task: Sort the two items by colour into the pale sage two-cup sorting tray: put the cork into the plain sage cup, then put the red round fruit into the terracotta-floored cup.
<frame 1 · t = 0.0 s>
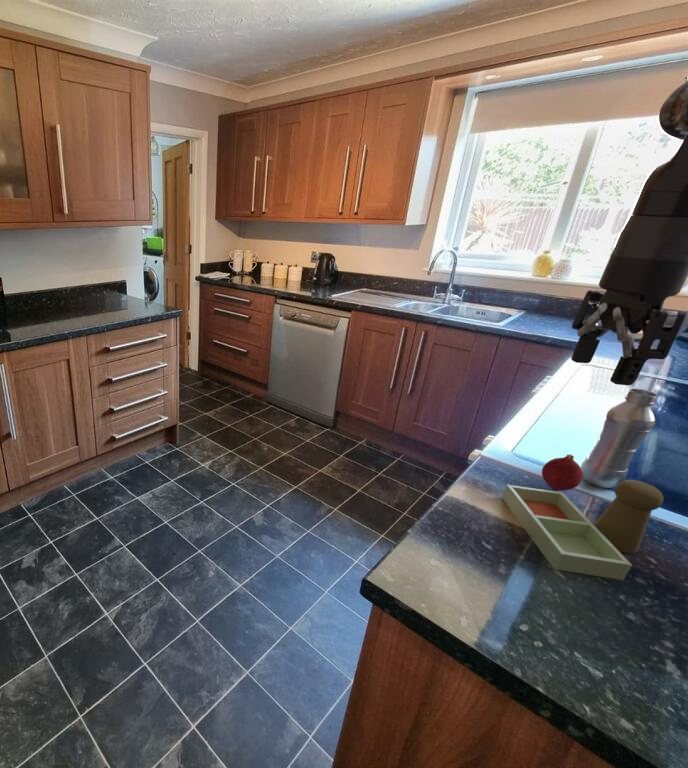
hand: (598, 372, 60), 29 cm above the countertop, tool pointing down, fingers open, 8 cm apart
sorter: (554, 534, 72), on the countertop
cork: (612, 540, 71), on the countertop
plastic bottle: (597, 483, 85), on the countertop
red round fruit: (554, 490, 83), on the countertop
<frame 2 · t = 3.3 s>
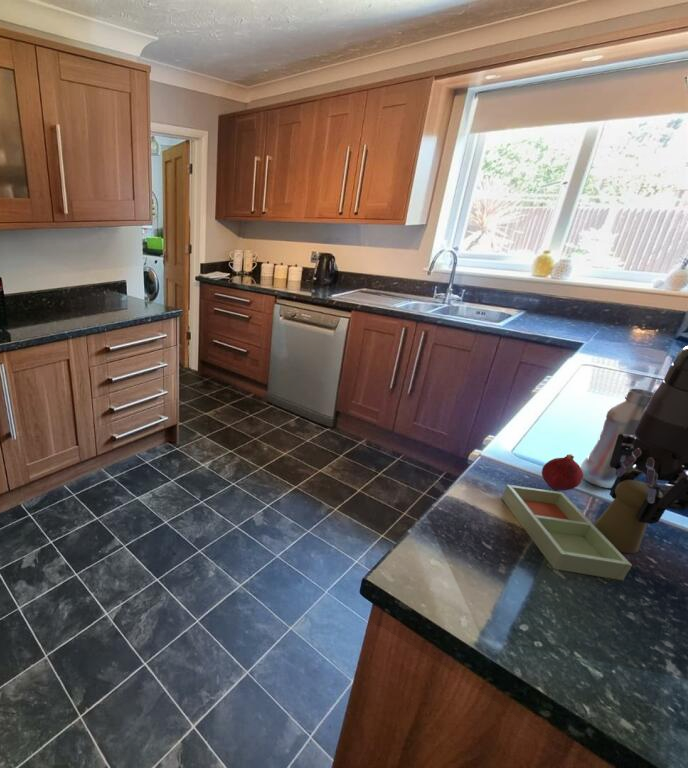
hand: (630, 508, 68), 6 cm above the countertop, tool pointing down, fingers closed on cork, 5 cm apart
cork: (612, 540, 71), on the countertop, touching gripper
everything else where it was.
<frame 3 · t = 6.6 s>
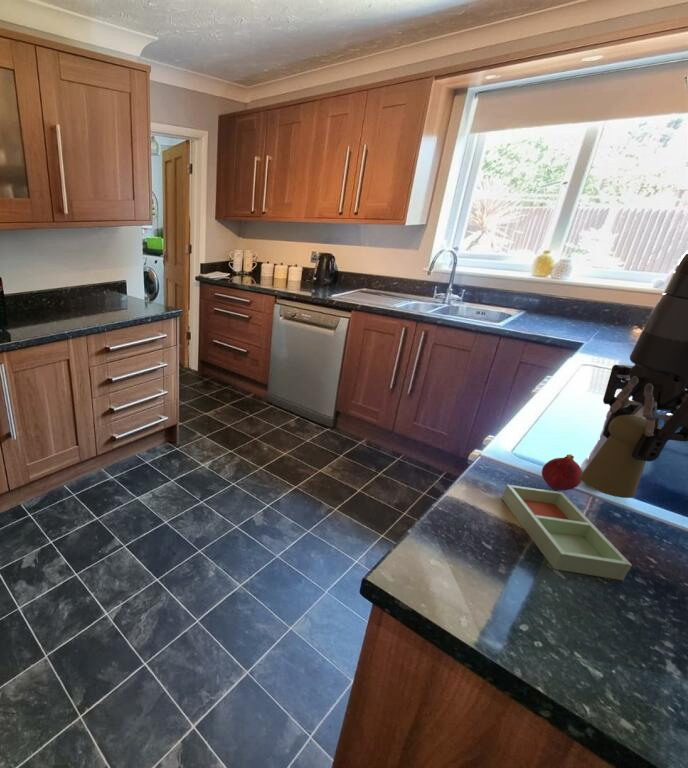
hand: (626, 447, 60), 20 cm above the countertop, tool pointing down, fingers closed on cork, 5 cm apart
cork: (606, 485, 63), point 13 cm above the countertop, touching gripper
everything else where it was.
when the fingers open (7 cm above the countertop, at t = 10.1 s): cork stays where it is, resting on sorter.
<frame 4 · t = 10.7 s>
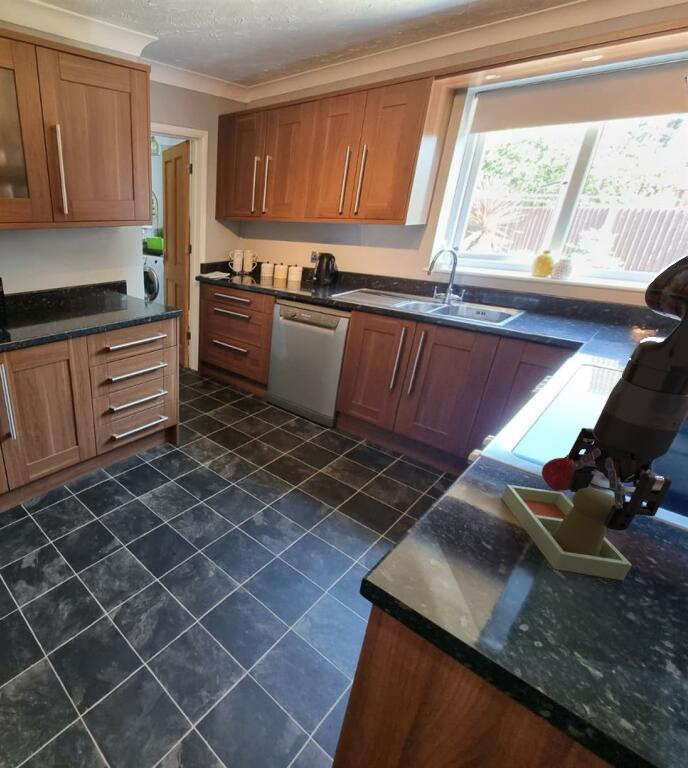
hand: (593, 508, 64), 9 cm above the countertop, tool pointing down, fingers open, 8 cm apart
cork: (571, 550, 68), resting on sorter
everything else where it was.
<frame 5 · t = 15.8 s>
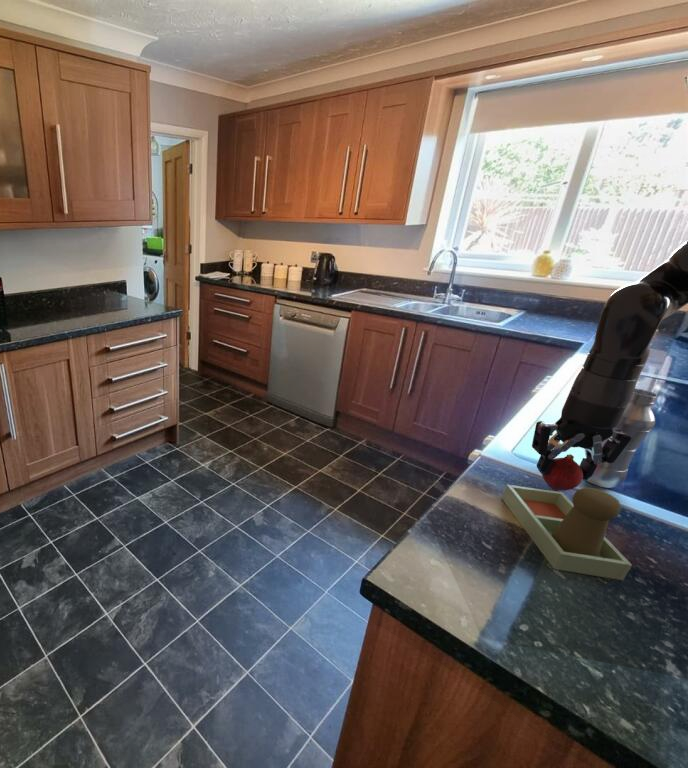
hand: (561, 474, 81), 4 cm above the countertop, tool pointing down, fingers closed on red round fruit, 6 cm apart
red round fruit: (554, 490, 83), on the countertop, touching gripper
everything else where it was.
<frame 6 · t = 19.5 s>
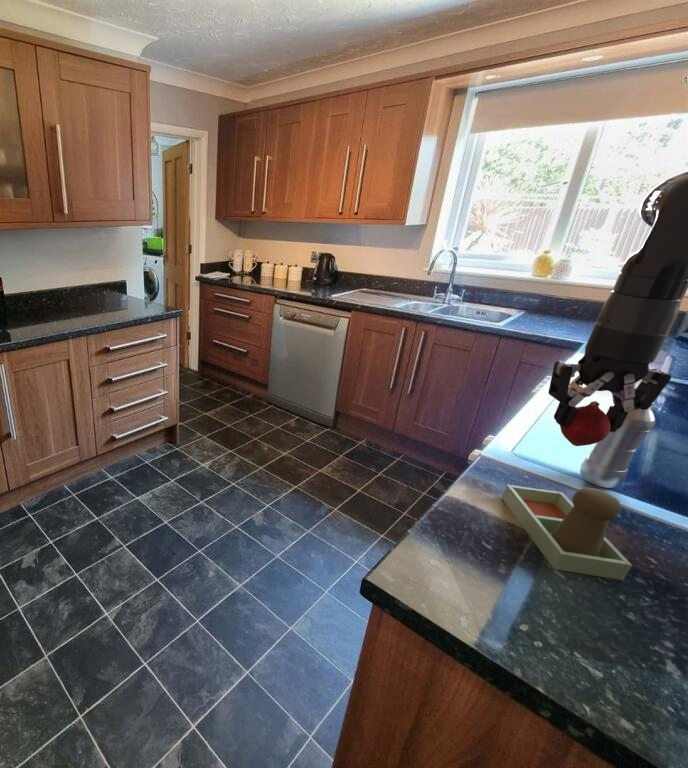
hand: (584, 426, 68), 18 cm above the countertop, tool pointing down, fingers closed on red round fruit, 6 cm apart
red round fruit: (574, 446, 70), point 15 cm above the countertop, touching gripper
everything else where it was.
when the fingers open (4 cm above the countertop, at t = 23.3 s): red round fruit stays where it is, resting on sorter.
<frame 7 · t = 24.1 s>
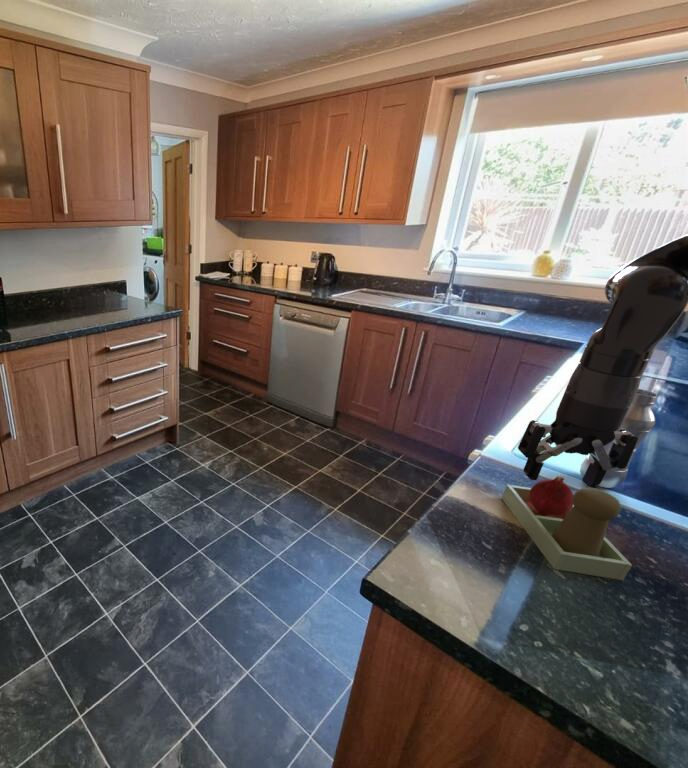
hand: (559, 481, 72), 8 cm above the countertop, tool pointing down, fingers open, 8 cm apart
red round fruit: (542, 515, 75), point 1 cm above the countertop, touching sorter
everything else where it was.
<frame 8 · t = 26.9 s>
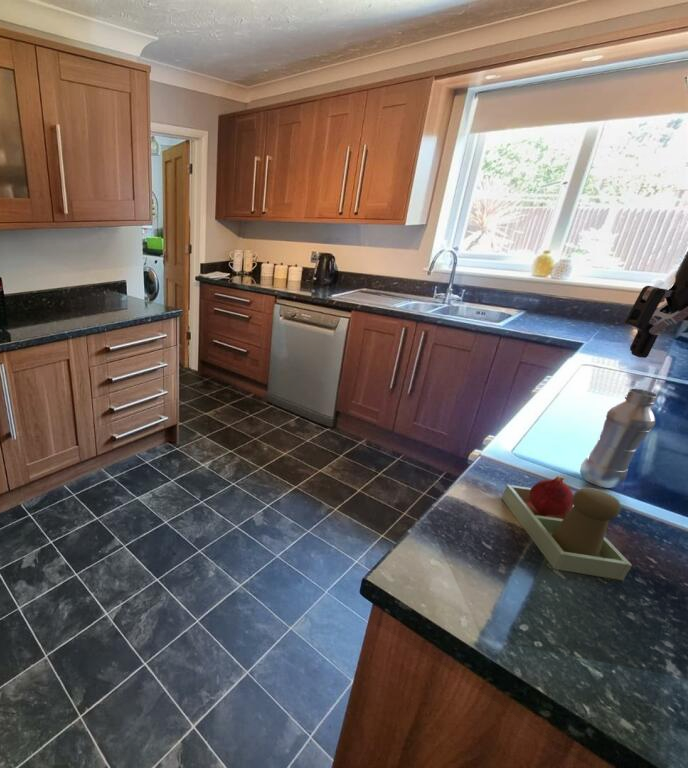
hand: (671, 358, 64), 30 cm above the countertop, tool pointing down, fingers open, 8 cm apart
nothing on the countertop moved.
at the end: cork inside the target area in the sorter (0.1 cm from its centre), point 0.4 cm above the sorter's base; red round fruit inside the target area in the sorter (0.2 cm from its centre), point 0.6 cm above the sorter's base; cork tilted 0° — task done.
